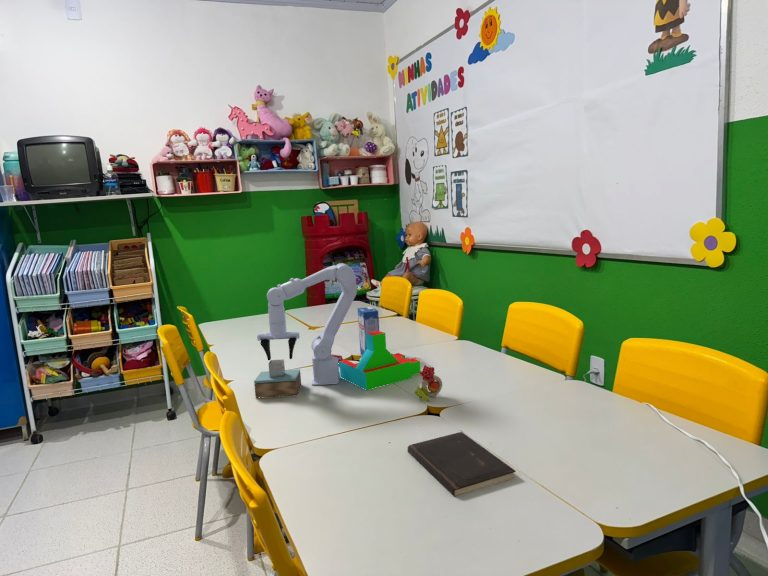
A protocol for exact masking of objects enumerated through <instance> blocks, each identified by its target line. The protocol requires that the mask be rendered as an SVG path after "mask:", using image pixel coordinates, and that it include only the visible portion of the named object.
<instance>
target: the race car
mask: <svg viewBox="0 0 768 576" xmlns="http://www.w3.org/2000/svg"><path fill="white" fill-rule="evenodd" d="M331 355H332V357H338V363H339V361H341V360H344V359H343V356H342V355H340V354H331Z"/></svg>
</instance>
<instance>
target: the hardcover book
mask: <svg viewBox="0 0 768 576" xmlns="http://www.w3.org/2000/svg"><path fill="white" fill-rule="evenodd" d="M407 453H408V454H409V455H410V456H411V457H413V459H414V460H415V461H417V463H419V465H421V467H422V468H424V469H425V470H426V471H427V472H428V473H429V474H430V475H431V477H433V478H434V479H435V480H436V481H438V483H439V484H440V485H442V487H443V488H445V490H446V491H447V492H449V494H451V495H452V496H453V498H455V497H456V496H459V495H462V494H465V493H468V492H473V491H474V490H475V491H476V490H478V489H482V488H484V487H487V486H491V485H494V484H497V483H501V482H504V481H508V480H511V479H513V478H514V475H515V474H514V473H516V470H515V469H514V468H513V467H511V466H510V465H508V464H507V463H505V462H504V461H503V460H502V459H500V458H499V457H497V456H496V455H494V454H493V453H491V452H490V451H489V450H488V449H486V448H485V447H483V446H482V445H480V444H479V443H478V442H477V441H475V440H473V439H472V438H471V437H470V436H468V435H467V434H465V433H464V432H462V431H459V432H456V433H451V434H447V435H444V436H439V437H436V438H432V439H428V440H424V441H420V442H416V443H413V444H409V445H408V446H407Z"/></svg>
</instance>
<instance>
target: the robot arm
mask: <svg viewBox="0 0 768 576" xmlns="http://www.w3.org/2000/svg"><path fill="white" fill-rule="evenodd" d="M327 280H328V281H333V282H336V281H337V282H338V284H339V287H340V289H341V294H340V295H339V297H338V299H337V301H336V303H335V305H334V307H333V309H332V312H331V313H330V315H329V317H328V319H327V322H326V323H325V325H324V327H323V328H322V330H321V331H320V332H319V334H318V336H317V337H316V338H315V339H313V341H312V343H311V350H312V351H313V355H312V357H311V362H312V371H313V372H312V373H313V374H312V375H313V380H312V383H311V386H321V385H323V386H325V385H335V384H336V385H337V384H339V381H340V378H341V377H340V365H339V364H338V357H332V355H333V354H332V348H333V345H334V342H335V337H336V335H337V333H338V332H339V329H340V327H341V325H342V323H343V321H344V319H345V317H346V316H347V314H348V312H349V310H350V308H351V306H352V304H353V301H354V300H355V298H356V295H357V294H358V290H357V289H358V288H357V275H356V273H355V272H354V269H353V268H352V267H351V266H350V265H348V264H346V263H345V262H344V263H343V262H339V263H337V264H336V265H331V266H328V267H326V268H323V269H321V270H319V271H317V272H315V273H312V274H311V275H309V276H306V277H305V278H303V279H301V278H298V277H297V278H294V277H291V278H289V280H288V281H287V282H284V283H282V284H280V283H279V284H277V285H276V286H277V287H276V286H275V287H271V288H270V289H268V291H267V293H266V298H267V301H268V304H267V306H268V308H267V309H268V310H267V315H268V324H269V325H268V326H269V332H268V333H266V332H265V333H258V334H257V336H256V338H257V339H256V340H257V341H259V343H260V346H261V347H262V349H263V350H264V352H265V355H266V357H267V361H271V360H272V356H271V340H272V341H273V340H287V343H288V353H289V354H288V355H289V357H288V358H289V360H292V359H293V354H294V350H295V349H294V348H295V345H296V342H297V340H299V339H300V332H299V331H295V332H294V331H287V321H286V308H285V307H284V301H288V300H290V299H293V298H295V297H297V296H299V295H301V294H302V295H303V293H304V292H305V290H306V289H307V288H309V287H311V286H314V285H316V284H318V283H321V282H323V281H327Z"/></svg>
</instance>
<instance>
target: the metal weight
mask: <svg viewBox="0 0 768 576" xmlns="http://www.w3.org/2000/svg"><path fill="white" fill-rule="evenodd" d="M285 370H286V368H285V359H270V360H269V362H268V371H269V375H270V378H274V377H283V376H284V374H285Z"/></svg>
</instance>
